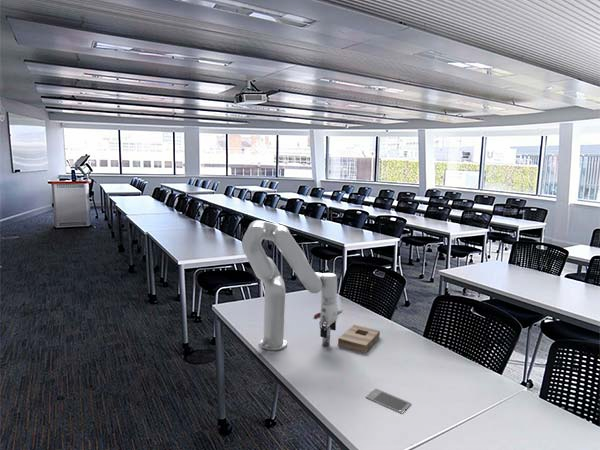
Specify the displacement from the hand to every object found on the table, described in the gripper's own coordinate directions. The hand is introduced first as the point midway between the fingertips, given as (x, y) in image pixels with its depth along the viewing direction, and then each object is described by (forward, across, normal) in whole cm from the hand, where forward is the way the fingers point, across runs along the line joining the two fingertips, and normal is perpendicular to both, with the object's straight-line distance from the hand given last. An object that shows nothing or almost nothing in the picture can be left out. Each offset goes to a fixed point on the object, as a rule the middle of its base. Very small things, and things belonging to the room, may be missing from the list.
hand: (328, 333), depth 195 cm
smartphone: (+7, -30, -39) cm, 50 cm away
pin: (+6, 0, +1) cm, 6 cm away
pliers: (+7, +34, +14) cm, 37 cm away
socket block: (+6, +12, -11) cm, 18 cm away
